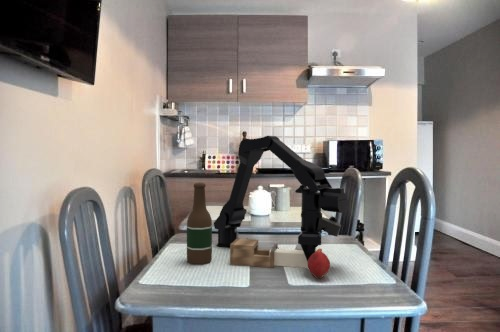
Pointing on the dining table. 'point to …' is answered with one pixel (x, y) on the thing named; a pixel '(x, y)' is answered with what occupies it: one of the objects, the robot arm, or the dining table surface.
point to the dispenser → (250, 253)
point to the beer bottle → (199, 229)
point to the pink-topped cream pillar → (290, 258)
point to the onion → (318, 263)
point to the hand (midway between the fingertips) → (310, 261)
